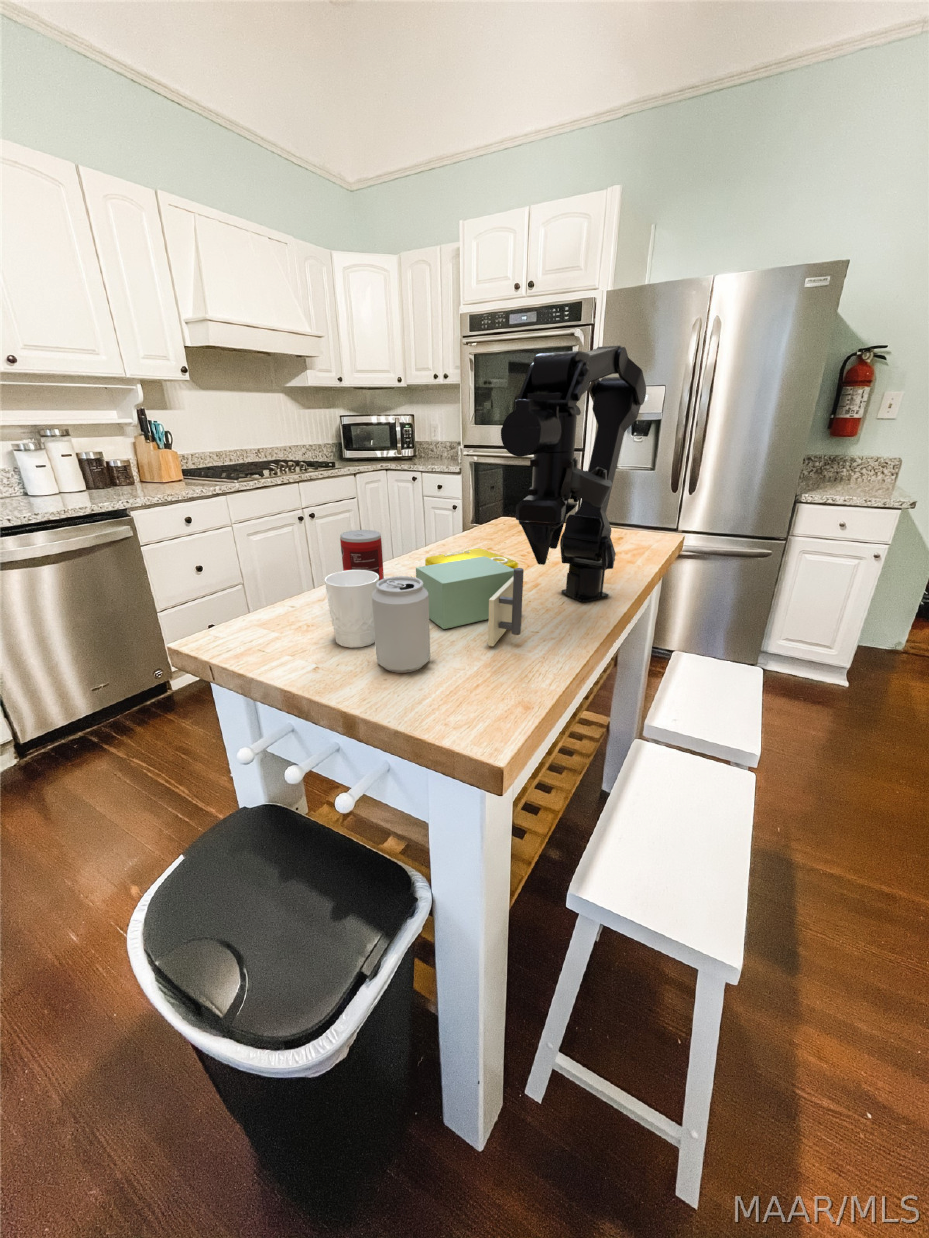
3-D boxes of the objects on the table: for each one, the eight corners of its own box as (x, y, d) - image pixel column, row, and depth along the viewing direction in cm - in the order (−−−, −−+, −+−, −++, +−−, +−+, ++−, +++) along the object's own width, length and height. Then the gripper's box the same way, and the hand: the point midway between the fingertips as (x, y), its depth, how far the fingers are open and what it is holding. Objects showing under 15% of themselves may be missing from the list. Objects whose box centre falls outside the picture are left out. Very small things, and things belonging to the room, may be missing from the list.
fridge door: (514, 613, 86) (517, 547, 82) (538, 617, 85) (542, 550, 80) (488, 645, 75) (489, 570, 70) (515, 650, 73) (518, 574, 69)
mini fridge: (484, 596, 95) (484, 556, 92) (514, 614, 87) (516, 570, 84) (417, 610, 89) (415, 567, 85) (443, 630, 81) (442, 583, 77)
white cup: (392, 632, 80) (388, 572, 76) (367, 653, 73) (362, 588, 69) (349, 625, 82) (343, 567, 78) (321, 645, 75) (313, 582, 72)
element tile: (479, 565, 114) (479, 545, 112) (521, 583, 102) (522, 560, 100) (422, 577, 106) (421, 555, 104) (460, 597, 95) (460, 573, 93)
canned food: (365, 580, 104) (360, 527, 100) (393, 587, 100) (389, 533, 96) (336, 590, 99) (330, 535, 94) (364, 598, 94) (360, 541, 90)
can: (422, 678, 66) (418, 593, 62) (368, 672, 68) (361, 589, 63) (436, 653, 73) (434, 575, 68) (387, 648, 74) (382, 571, 70)
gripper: (605, 459, 61) (593, 580, 67) (617, 446, 77) (606, 545, 83) (516, 456, 65) (513, 571, 71) (545, 445, 81) (540, 540, 87)
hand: (547, 556), depth 78 cm, fingers open, 9 cm apart
